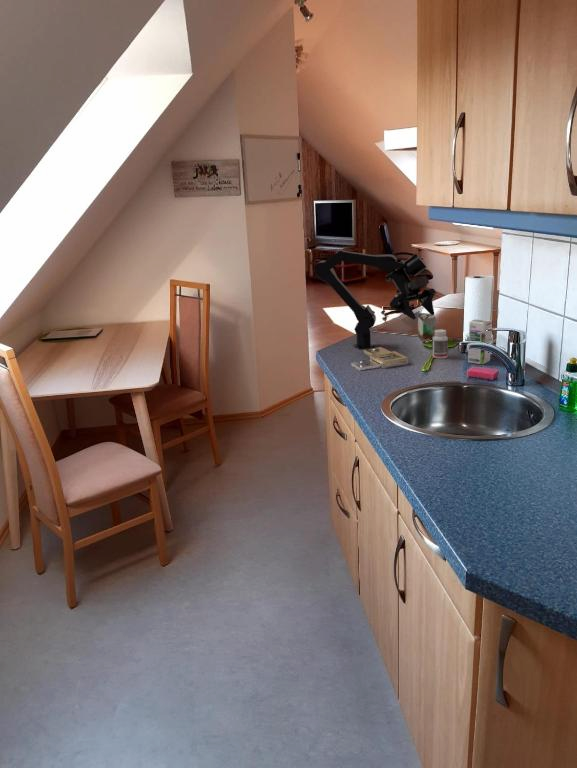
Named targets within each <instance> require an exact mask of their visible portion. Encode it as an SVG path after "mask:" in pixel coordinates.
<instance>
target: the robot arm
mask: <svg viewBox="0 0 577 768" xmlns="http://www.w3.org/2000/svg"><path fill="white" fill-rule="evenodd" d="M341 262H344V263H345V262H346V263H351V264H359V265H365V266H371V267H374V268H376V269H378V270H381V271H384V272H387V273H386V276H385V278H384V279H385V281H387V282H388V283H390V282H393V284H394V285H395V287H396V289H397V290H396V293H397V294H395V295H394V296H393V297H392V298H391V300H390V301H389V307H390V308H391V310H395V311H397V312H399V313H401V314H404V315H405V316H407V317H408V318H410V319H412V320H416V317H417V316H416V315H415V313H414V311H413V309H412V308H411V306H410V302H415V301H419V303H421V306H422V307H423V308H424V309H425V311H427V313H429V314H431V315H432V316H433V315H435V309H434V304H433V298H434V297H435V295H436V294H437V292H436V290H435V288H433V287H430V288H425V289H423V288H424V287H427V286H428V284H429V283H430V281H429V278H428V277H427V275H422V276H421V277H419V278H416V279H410V277H411V276H413V277H416V276H418V275H419V274H420V273H422V272H423V271H424V270H426V269H427V268H428V266H427V265H426V263H425V262H424V260H423V259H422V258H421V257H420V256H419V254H417V253H416V252H415V253H414V254H413V255H411V256H410V257H409V258H408V259H406V260H403V259H399V258H397V257H396V256H395V255H394V254H390V253H389V254H368V253H360V252H354V251H349V250H344V249H339V250H337V251H336V252H335V253H334V254H333V255H332V256H330V257H329V258H327V259H326V260H321V261H319V262H318V263H317V264H316V265H315V266H314V274H315V276H317V277H318V278H319V279H320V280H321V281H323V282H324V283H326V284H328V286H330V287H331V288H332V290H334V292H335V293H336V294H337V295H338V296H339V297H340V299H342V301H343V302H344V303H345V304H346V305H347V307H349V309H350V310H351V311H352V312H353V314H354V317H355V318H356V320H357V323H356V325H355V327H354V329H353V330H354V332H355V343H353V344H352V346H353V345H354V346H353V347H355V348H357V349H358V348H359V349H358V350H362V348H363V349H370V348H375V345H374V344H372V343H371V342H372V341H371V329H372V328H373V327H374V326H375V323H376V320H377V317H376V312H375V311H374V310H373V309H372V308H371V307H370V305H369V304H367V305H366V306H365V305H363V304H362V303H360V301H359V300H358V299H357V298H356V296H354V294H353V293H352V292H351V291H350V290H349V289H348V288H347V286H346V285H345V284H344V283H343V281H342V280H340V279H339V277H338V275H337V273H336V270H335V269H334V267H335V266H336V265H339V264H340V263H341ZM389 272H390V273H389ZM409 276H410V277H409ZM422 289H423V291H422ZM421 291H422V292H421ZM420 292H421V293H420Z"/></svg>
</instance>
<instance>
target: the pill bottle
mask: <svg viewBox="0 0 577 768" xmlns="http://www.w3.org/2000/svg"><path fill="white" fill-rule="evenodd" d="M431 343H432V352H431V353H432V355H431V356H432V357H433V358H434V359H440V360H441V359H443V360H444V359H447V358H448V354H449V351H448V350H449V348H448V347H449V338H448V336H447V330H446V329H442V328H441V329H434V335H433V339H432V342H431Z"/></svg>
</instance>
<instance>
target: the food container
mask: <svg viewBox="0 0 577 768" xmlns="http://www.w3.org/2000/svg"><path fill="white" fill-rule="evenodd" d="M435 323H437V318H436V315H435V314H434V315H433V316H432V315H431V314H430V313H429V312H425V313H424V312H419V313H417V338H418V340H420V342H421V343H422V344H423V345H424V344H426V343H425V342H426V341H429V340H432V339H433V337H434V336H435Z"/></svg>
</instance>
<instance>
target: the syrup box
mask: <svg viewBox="0 0 577 768" xmlns="http://www.w3.org/2000/svg"><path fill="white" fill-rule="evenodd" d="M492 322H493V321H492V320H487V319H478V318H477V319H472V320H470V321H469V323H468V325H469V326H468V341H469V340H471V341H481V342H485V343H492V330H491V331H485V329H488V328H491V329H492V325H493V324H492ZM467 353H468V356H467V357H468V358H467V363H469V364H470V363H471V364H476V365H484V364H486V363H488V362H490V361H491V353H490V354H489V353H488V352H486V351H484V350H481V349H475V348H474V349H469V348H468V352H467Z"/></svg>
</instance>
